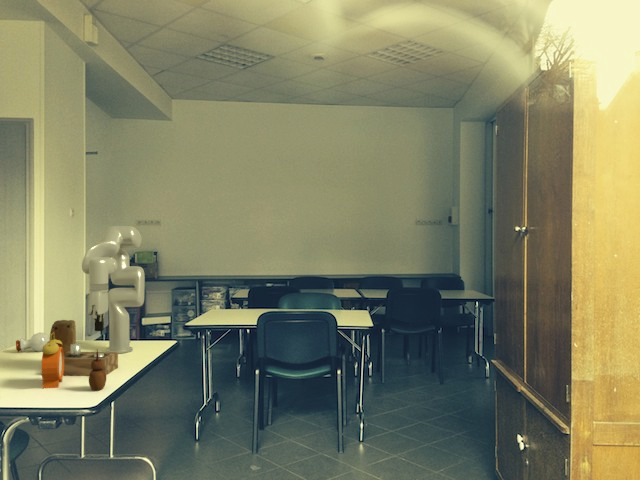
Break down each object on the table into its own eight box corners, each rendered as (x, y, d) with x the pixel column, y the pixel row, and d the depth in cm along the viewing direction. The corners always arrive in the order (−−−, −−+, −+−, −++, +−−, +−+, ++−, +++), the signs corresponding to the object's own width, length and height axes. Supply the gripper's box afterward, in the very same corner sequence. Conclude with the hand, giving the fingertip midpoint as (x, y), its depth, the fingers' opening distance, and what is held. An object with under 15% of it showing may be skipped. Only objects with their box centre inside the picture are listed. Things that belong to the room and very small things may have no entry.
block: (76, 362, 248) (76, 319, 248) (74, 366, 241) (74, 321, 241) (50, 364, 245) (50, 320, 244) (47, 368, 237) (47, 322, 237)
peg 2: (96, 369, 233) (96, 353, 233) (105, 369, 233) (105, 353, 233) (92, 371, 229) (92, 355, 229) (101, 371, 229) (101, 355, 229)
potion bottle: (51, 353, 272) (18, 359, 268) (53, 339, 280) (20, 344, 275) (47, 341, 267) (13, 346, 263) (49, 327, 274) (16, 332, 270)
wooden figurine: (92, 386, 209) (92, 348, 209) (108, 386, 210) (108, 347, 210) (86, 392, 203) (86, 351, 202) (102, 391, 203) (102, 351, 203)
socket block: (68, 367, 240) (68, 351, 240) (117, 367, 239) (117, 351, 239) (52, 375, 226) (52, 358, 226) (105, 375, 225) (104, 358, 225)
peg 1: (73, 359, 233) (73, 342, 233) (82, 359, 233) (82, 343, 233) (68, 361, 229) (68, 344, 229) (78, 361, 229) (78, 344, 229)
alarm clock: (58, 388, 207) (58, 336, 207) (40, 389, 205) (40, 337, 205) (64, 379, 220) (64, 330, 219) (47, 380, 218) (47, 330, 218)
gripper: (97, 285, 238) (97, 327, 239) (82, 289, 224) (82, 334, 224) (114, 285, 238) (114, 327, 239) (100, 289, 223) (100, 334, 224)
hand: (99, 330), depth 232 cm, fingers closed
